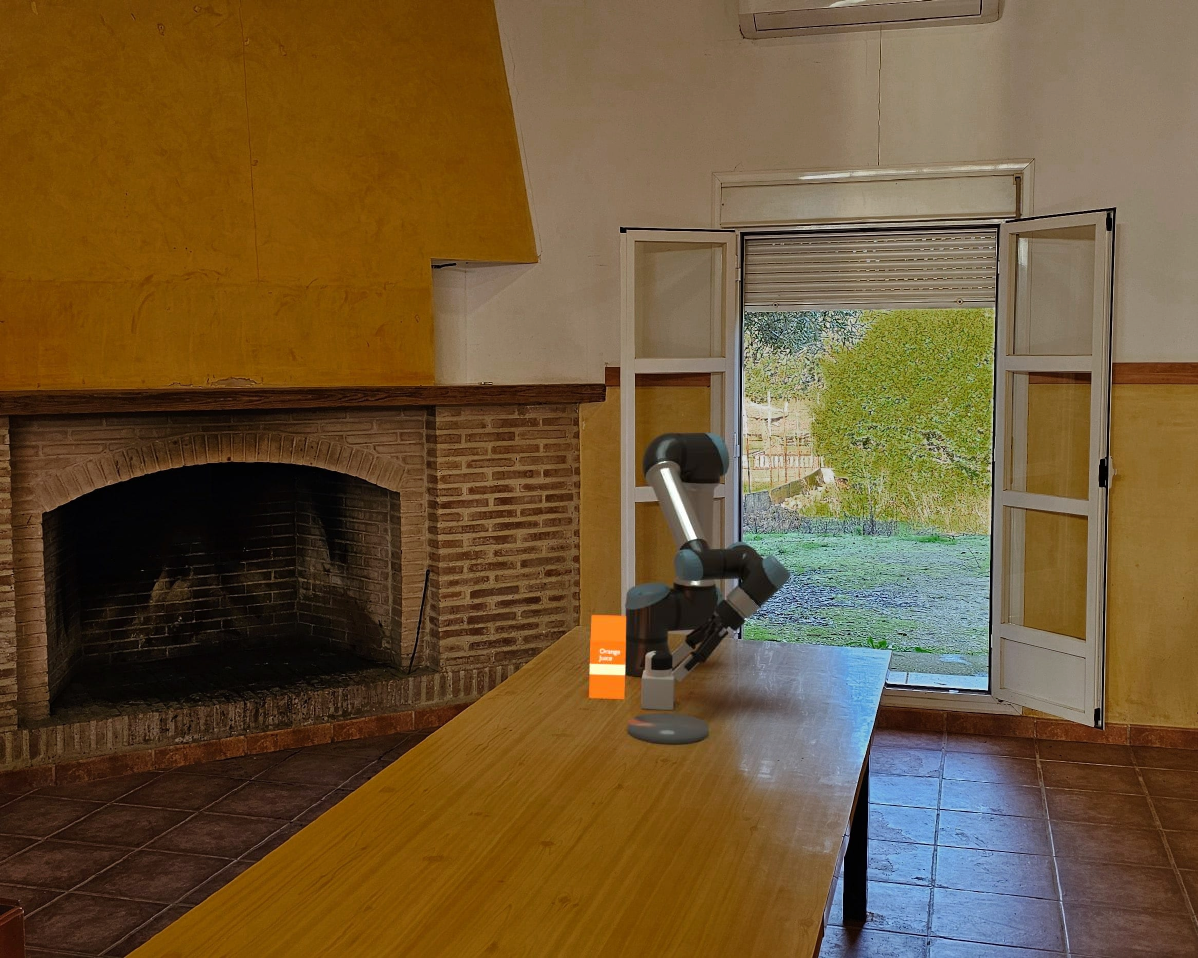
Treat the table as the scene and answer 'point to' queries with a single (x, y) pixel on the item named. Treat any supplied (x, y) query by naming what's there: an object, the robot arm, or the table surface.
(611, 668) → the orange juice
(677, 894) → the table surface
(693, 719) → the slate plate
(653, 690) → the container
